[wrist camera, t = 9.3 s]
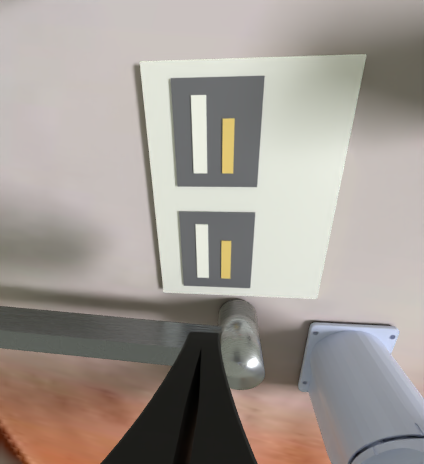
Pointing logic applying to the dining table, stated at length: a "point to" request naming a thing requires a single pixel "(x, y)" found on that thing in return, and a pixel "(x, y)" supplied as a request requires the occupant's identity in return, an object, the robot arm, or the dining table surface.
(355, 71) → the label board
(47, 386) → the dining table surface
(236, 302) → the swing arm
